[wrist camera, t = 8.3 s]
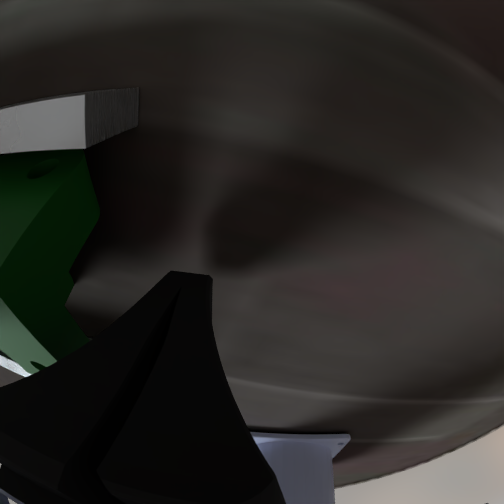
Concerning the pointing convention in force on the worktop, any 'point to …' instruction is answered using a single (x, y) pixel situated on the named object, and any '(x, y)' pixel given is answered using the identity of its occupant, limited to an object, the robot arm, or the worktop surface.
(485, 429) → the worktop surface
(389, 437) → the worktop surface
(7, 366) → the dock
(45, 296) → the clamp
